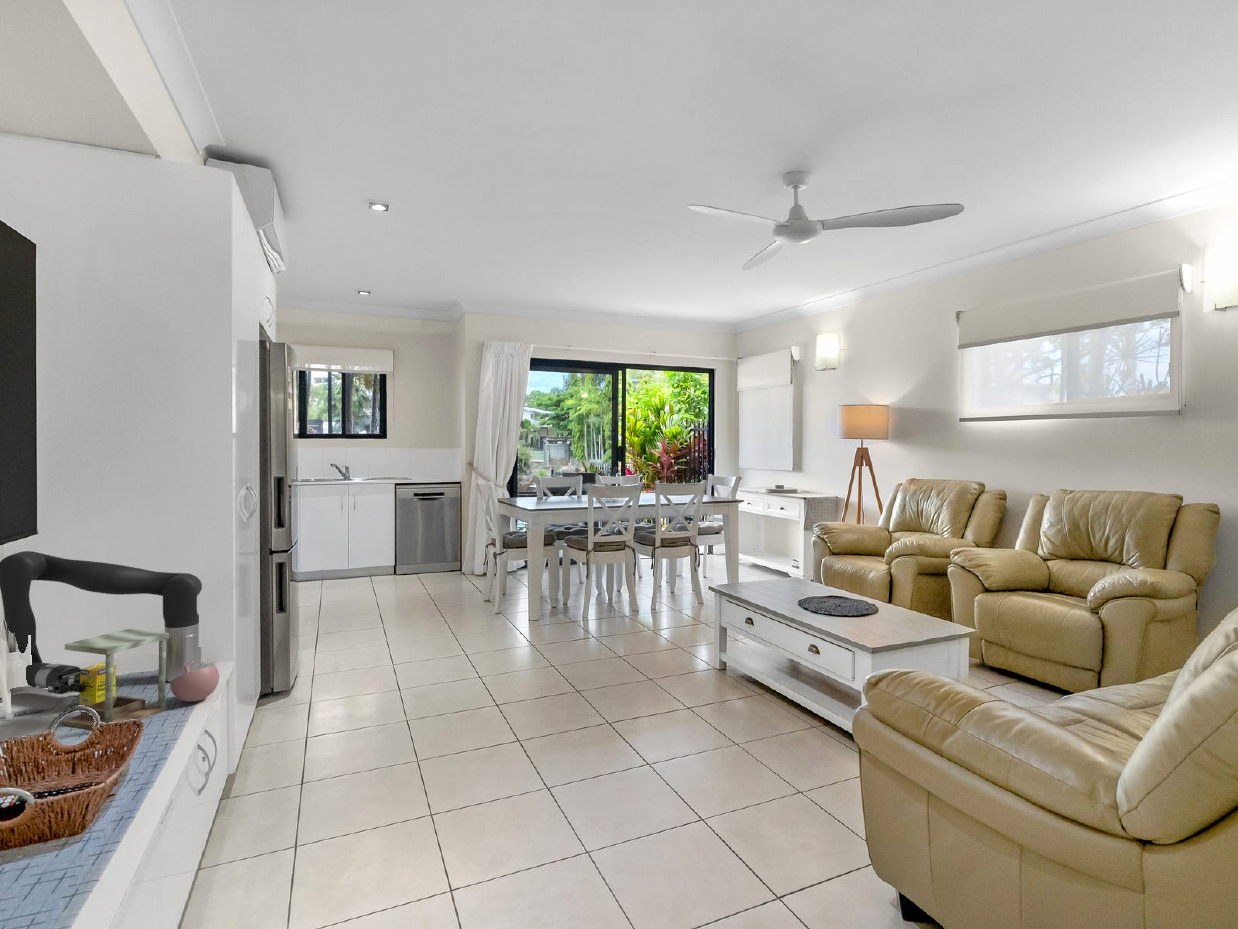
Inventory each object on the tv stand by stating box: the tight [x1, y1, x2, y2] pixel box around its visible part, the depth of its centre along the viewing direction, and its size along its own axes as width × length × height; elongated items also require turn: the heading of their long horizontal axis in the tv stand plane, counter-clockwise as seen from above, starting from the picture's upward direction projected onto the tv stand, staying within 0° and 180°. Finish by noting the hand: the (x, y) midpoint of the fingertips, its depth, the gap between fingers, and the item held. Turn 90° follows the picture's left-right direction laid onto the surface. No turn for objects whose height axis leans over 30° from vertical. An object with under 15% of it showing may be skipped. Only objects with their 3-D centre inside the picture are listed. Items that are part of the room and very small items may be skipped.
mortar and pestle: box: [169, 661, 220, 703], centre depth 191 cm, size 12×12×12 cm
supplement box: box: [79, 662, 117, 706], centre depth 186 cm, size 6×6×11 cm
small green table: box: [62, 628, 169, 730], centre depth 178 cm, size 17×16×22 cm
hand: (99, 683), depth 186 cm, fingers open, 8 cm apart
